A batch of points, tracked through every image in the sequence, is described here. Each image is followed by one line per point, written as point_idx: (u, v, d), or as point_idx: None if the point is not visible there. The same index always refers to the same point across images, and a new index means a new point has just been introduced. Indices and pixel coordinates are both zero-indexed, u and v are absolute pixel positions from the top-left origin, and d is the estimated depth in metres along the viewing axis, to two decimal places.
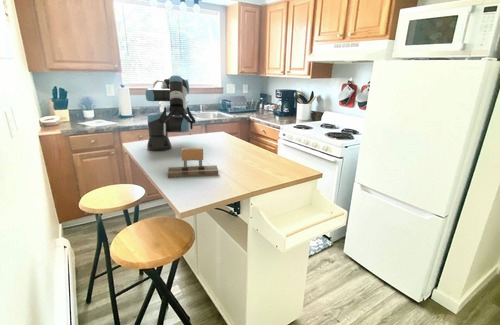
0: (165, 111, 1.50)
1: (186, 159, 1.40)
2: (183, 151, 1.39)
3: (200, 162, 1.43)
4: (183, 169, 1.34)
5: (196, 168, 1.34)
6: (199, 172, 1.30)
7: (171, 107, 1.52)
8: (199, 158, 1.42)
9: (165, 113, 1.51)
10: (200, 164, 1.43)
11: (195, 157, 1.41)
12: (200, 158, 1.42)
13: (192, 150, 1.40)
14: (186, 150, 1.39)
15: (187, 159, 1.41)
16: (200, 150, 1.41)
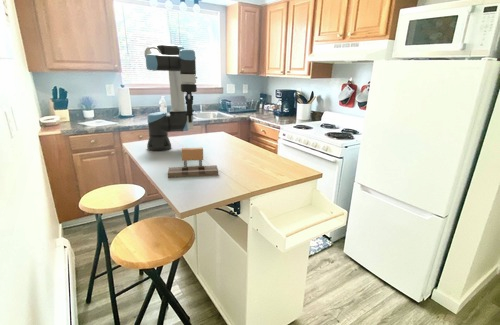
0: (191, 100, 1.28)
1: (186, 159, 1.40)
2: (183, 151, 1.39)
3: (200, 162, 1.43)
4: (183, 169, 1.34)
5: (196, 168, 1.34)
6: (199, 172, 1.30)
7: None
8: (199, 158, 1.42)
9: None
10: (200, 164, 1.43)
11: (195, 157, 1.41)
12: (200, 158, 1.42)
13: (192, 150, 1.40)
14: (186, 150, 1.39)
15: (187, 159, 1.41)
16: (200, 150, 1.41)
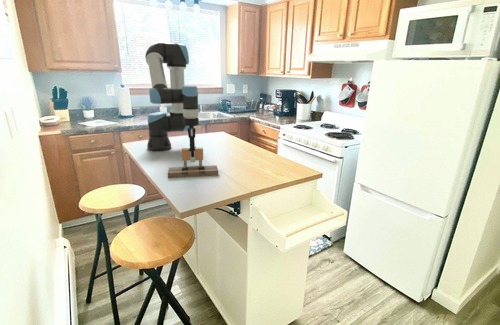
0: (194, 136, 1.34)
1: (186, 159, 1.40)
2: (183, 151, 1.39)
3: (200, 162, 1.43)
4: (183, 169, 1.34)
5: (196, 168, 1.34)
6: (199, 172, 1.30)
7: (193, 128, 1.34)
8: (199, 158, 1.42)
9: None
10: (200, 164, 1.43)
11: (195, 157, 1.41)
12: (200, 158, 1.42)
13: None
14: (186, 150, 1.39)
15: (187, 159, 1.41)
16: (200, 150, 1.41)
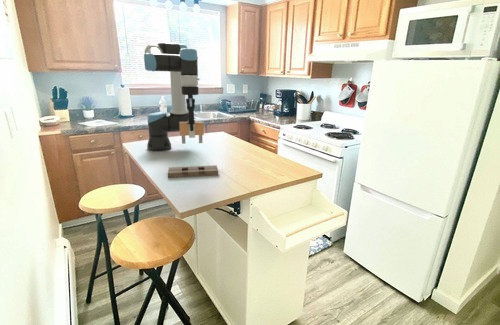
0: (193, 107, 1.20)
1: (184, 134, 1.26)
2: (181, 124, 1.24)
3: (200, 137, 1.28)
4: (183, 169, 1.34)
5: (196, 168, 1.34)
6: (199, 172, 1.30)
7: (192, 97, 1.20)
8: (199, 133, 1.27)
9: None
10: (200, 140, 1.28)
11: None
12: (200, 133, 1.27)
13: None
14: (184, 123, 1.24)
15: (186, 134, 1.26)
16: (200, 124, 1.26)
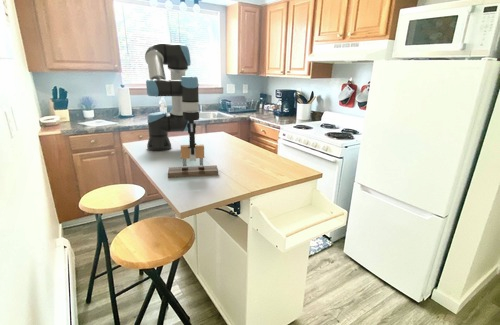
0: (194, 132, 1.23)
1: (186, 157, 1.29)
2: (182, 148, 1.27)
3: (201, 160, 1.31)
4: (183, 169, 1.34)
5: (196, 168, 1.34)
6: (199, 172, 1.30)
7: (193, 123, 1.23)
8: (200, 156, 1.30)
9: None
10: (201, 162, 1.32)
11: None
12: (201, 156, 1.30)
13: None
14: (186, 147, 1.27)
15: (187, 157, 1.29)
16: (201, 147, 1.29)
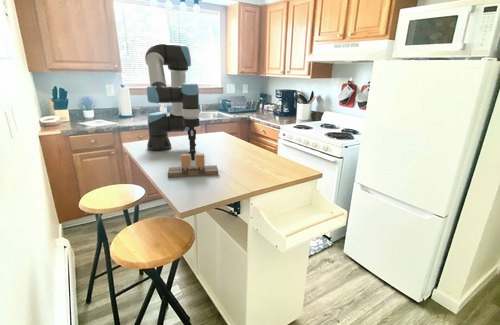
0: (194, 137, 1.22)
1: (186, 166, 1.30)
2: (183, 157, 1.29)
3: (201, 169, 1.33)
4: None
5: (196, 168, 1.34)
6: (199, 172, 1.30)
7: (194, 129, 1.24)
8: (200, 165, 1.32)
9: None
10: None
11: None
12: (201, 165, 1.32)
13: None
14: (186, 156, 1.29)
15: (187, 166, 1.30)
16: (201, 156, 1.30)
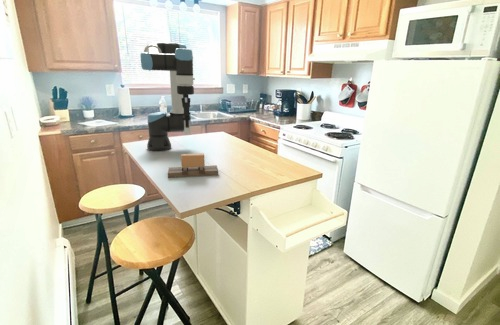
0: (189, 104, 1.19)
1: (186, 166, 1.30)
2: (183, 157, 1.29)
3: (201, 169, 1.33)
4: None
5: (196, 168, 1.34)
6: (199, 172, 1.30)
7: None
8: (200, 165, 1.32)
9: None
10: None
11: (195, 164, 1.31)
12: (201, 165, 1.32)
13: (192, 156, 1.30)
14: (186, 156, 1.29)
15: (187, 166, 1.30)
16: (201, 156, 1.30)
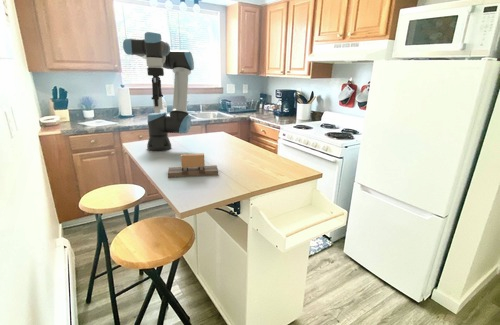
0: (157, 84, 1.27)
1: (186, 166, 1.30)
2: (183, 157, 1.29)
3: (201, 169, 1.33)
4: None
5: (196, 168, 1.34)
6: (199, 172, 1.30)
7: (157, 78, 1.30)
8: (200, 165, 1.32)
9: None
10: None
11: (195, 164, 1.31)
12: (201, 165, 1.32)
13: (192, 156, 1.30)
14: (186, 156, 1.29)
15: (187, 166, 1.30)
16: (201, 156, 1.30)
